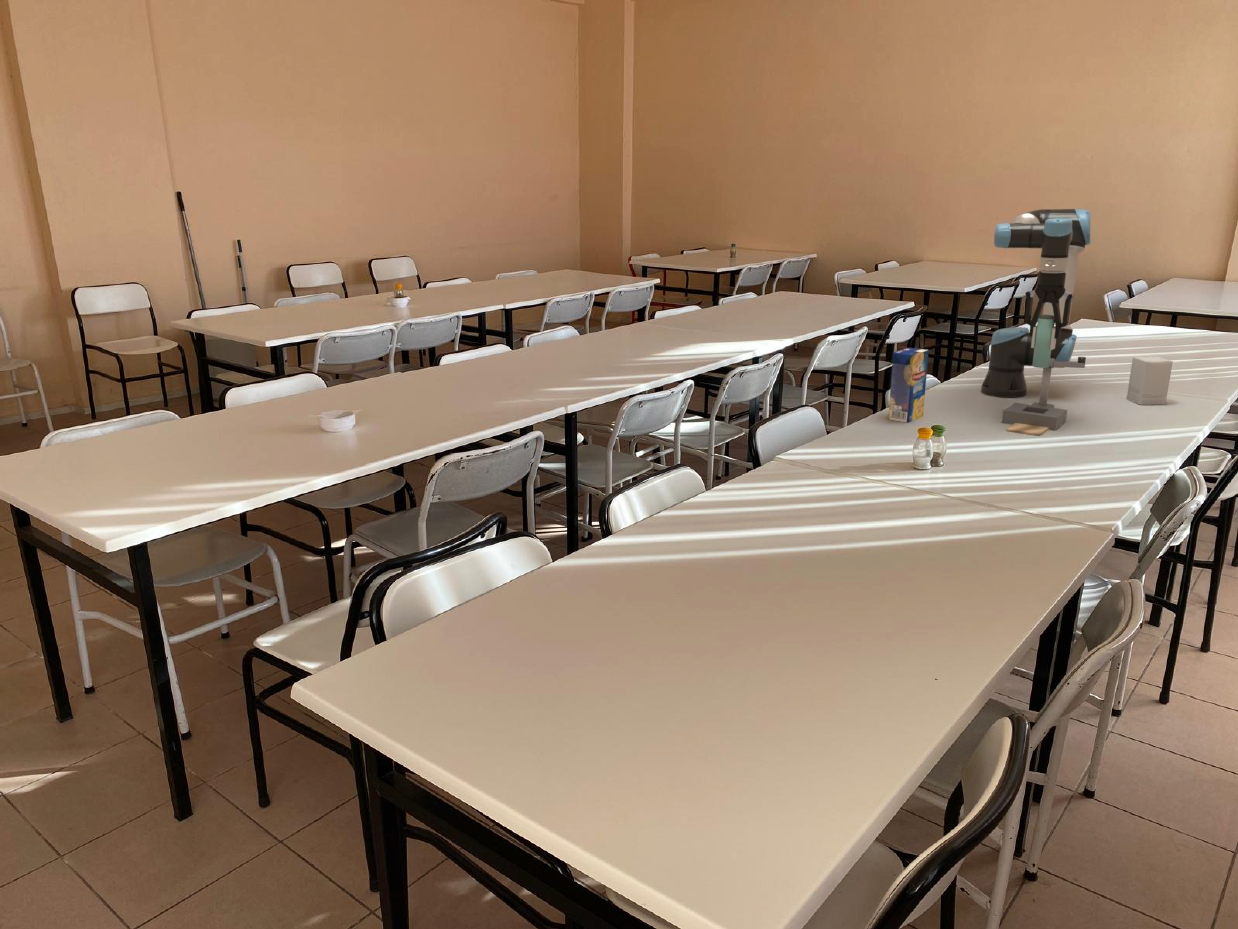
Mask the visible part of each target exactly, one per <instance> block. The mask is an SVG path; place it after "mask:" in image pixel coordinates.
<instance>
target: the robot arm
mask: <svg viewBox="0 0 1238 929" xmlns="http://www.w3.org/2000/svg"><path fill="white" fill-rule="evenodd" d="M993 244H994V247H996V248H999V249H1000V248H1002V249H1041V253H1040V258H1039V259H1040V260H1039V265H1038V266H1039V267H1038V269H1039V273H1037V274H1038V277H1037V283H1036V287H1035V289H1034V290H1029V291H1026V292H1025V298H1026V305H1025V312H1024V314H1025V315H1024V320H1023V322H1024V323H1023V324H1024V325H1025V324H1026V325H1028V326H1029V328H1028V327H1025V326H1024V327H1022V326H1018V327H1016V326H1015V327H1007V328H1005V327H1004V328H1000V329H997V330H995V331H994V332H993V333H992V337H991V341H990V352H989V362H988V370H987V373H986V375H985V377H984V380H983V382H982V384H981V387H980V393H982V394H984V395H988V396H991V397H999V398H1020V397H1021V398H1022V397H1025V396H1026V395H1027V391H1028V386H1027V382H1026V378H1025V373H1024V372H1025V371H1024V370H1025V366H1026V367H1033V366H1032V364H1033V355H1034V347H1035V339H1036V331H1037V322H1038V318H1039V317H1040V315H1041V313H1042V315H1054V320H1055V325H1054V328H1052V336H1051V344H1050V350H1051V356H1050V358H1054V359H1055V361H1071V359H1072V355H1073V353H1074V349H1075V345H1076V342H1077V335H1076V334H1074V333H1073V331H1074V328H1072V327H1071V325H1070V319H1071V318H1070V317H1071V312H1072V305H1073V299H1074V297H1075V294H1074V290H1075V283H1076V277H1077V270H1078V269H1077V268H1078V263H1079V262H1078V261H1079V256H1080V254H1081V253H1083V252H1084V251H1085V249H1086V246H1089V245H1090V244H1091V213H1090V211H1089V210H1088V209H1079V208H1063V209H1062V208H1059V209H1057V208H1056V209H1055V208H1054V209H1046V208H1045V209H1044V208H1043V209H1035V210H1031V211H1029V212H1024V213H1021V214H1019V215H1018V216H1016V217H1015V218H1014V219H1013V221H1012V222H1011V223H1008V222H1005V223H998V224H997V225H996V226H995V230H994V237H993ZM1035 297H1037V298H1038V302H1037V304H1036V305H1037V306H1036V308H1035V310H1034V313H1033V315H1032V312H1033V304H1034V298H1035ZM1051 368H1052V369H1054V368H1055V369H1056V368H1058V369H1064V368H1066V367H1051Z"/></svg>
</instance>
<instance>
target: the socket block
mask: <svg viewBox="0 0 1238 929" xmlns="http://www.w3.org/2000/svg"><path fill="white" fill-rule="evenodd" d="M1052 369H1053V368H1052V367H1048V368H1042V376H1041V382H1040V390H1039V391H1040V392H1039V397H1038V398H1039V399H1038V402H1036V401H1035V402H1033V403H1031V404H1025V403H1019V402H1013V403H1012V404H1011V405H1009V406H1008V407H1006V408H1005V409H1003V410H1002V417H1001V423H1002V424H1008V425H1012V424H1014V423H1021V424H1028V425H1035V426H1042V427H1049V429H1050V431H1051V430H1052V431H1056V430H1058V429H1059V428H1060V427H1061V426H1062V425H1064V424H1065V423H1066V422H1067V415H1068V409H1064V408H1056V407H1055V404H1053V403H1051V404H1050V403H1048V400H1049V392H1050V391H1049V390H1050V384H1051V376H1052ZM1049 429H1048V430H1049Z"/></svg>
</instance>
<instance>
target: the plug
mask: <svg viewBox="0 0 1238 929" xmlns="http://www.w3.org/2000/svg"><path fill="white" fill-rule="evenodd" d="M1054 325H1055V320H1054V315H1043V314H1040V316H1039V318H1038V321H1037V324H1036V326H1037V331H1036V339H1035V347H1034V355H1033V364H1032V366H1031V367H1034V368H1037V369H1039V368H1040V369H1043V368H1048V367H1049V364H1050V356H1051V350H1050V344H1051V336H1052V328H1054Z"/></svg>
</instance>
